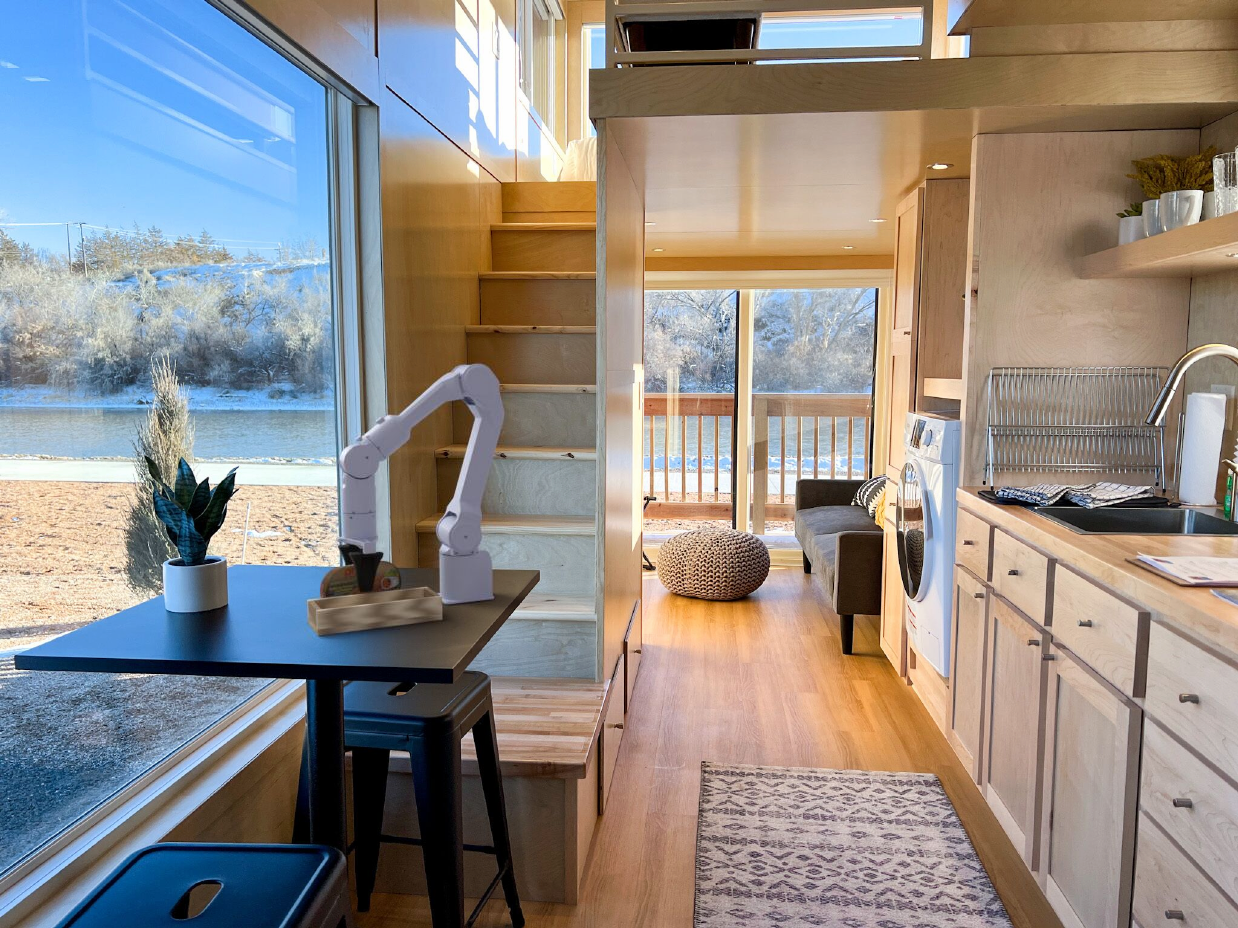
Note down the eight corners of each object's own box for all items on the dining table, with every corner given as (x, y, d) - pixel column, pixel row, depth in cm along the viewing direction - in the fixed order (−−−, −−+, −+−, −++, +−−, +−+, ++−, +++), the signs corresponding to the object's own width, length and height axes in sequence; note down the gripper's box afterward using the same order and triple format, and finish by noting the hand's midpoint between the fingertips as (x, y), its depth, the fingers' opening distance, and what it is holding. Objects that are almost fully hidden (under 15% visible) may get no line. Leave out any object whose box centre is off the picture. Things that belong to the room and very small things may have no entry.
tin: (326, 618, 154) (325, 570, 153) (318, 614, 156) (316, 567, 156) (403, 603, 165) (402, 558, 164) (394, 600, 167) (393, 556, 166)
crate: (427, 608, 161) (426, 586, 160) (442, 619, 153) (442, 596, 153) (307, 623, 151) (307, 599, 150) (317, 635, 143) (317, 611, 143)
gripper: (327, 508, 163) (329, 581, 165) (345, 518, 151) (347, 597, 152) (366, 505, 167) (368, 577, 168) (387, 515, 154) (388, 593, 155)
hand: (360, 587), depth 160 cm, fingers open, 7 cm apart
